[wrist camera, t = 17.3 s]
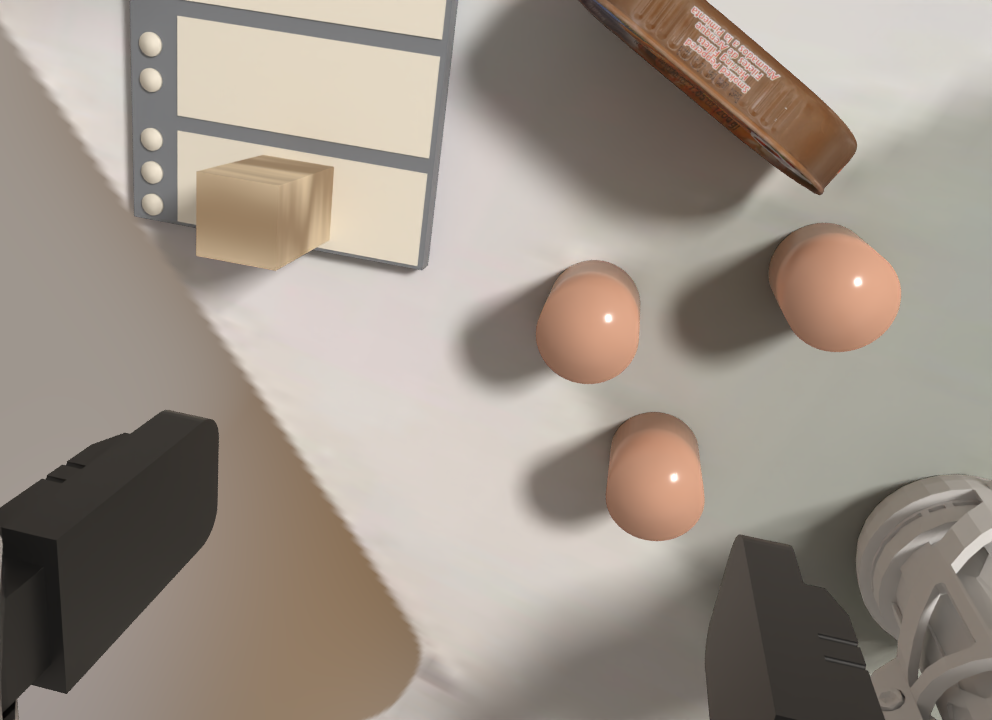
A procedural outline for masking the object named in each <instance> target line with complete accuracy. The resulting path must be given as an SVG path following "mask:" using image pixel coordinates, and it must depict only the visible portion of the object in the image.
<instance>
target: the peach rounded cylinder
mask: <svg viewBox="0 0 992 720" xmlns="http://www.w3.org/2000/svg"><path fill="white" fill-rule="evenodd" d="M768 276H769V283H770V287H771V290H772V292H773V294H774V296H775V298H776V300H777V302H778V304H779V306H780V308H781V310H782V312H783V314H784V316H785V318H786V320H787V322H788V323H789V325H790V327H791V329H792V330H793V331H794V333H795V334H796V335H797V336H798V337H799V338H800V339H801V340H802V341H804V342H805V343H807V344H809V345H810V346H812V347H815V348H817V349H820V350H824V351H830V352H845V351H851V350H855V349H858V348H861V347H864V346H866V345H868V344H870V343H872V342H873V341H875V340H876V339H877V338H879V337H880V336H881V335H882V334H883V333H884V332H885V331H886V330H887V329H888V328H889V327H890V325H891V324H892V322H893V321H894V319H895V317H896V315H897V313H898V310H899V306H900V301H901V288H900V282H899V279H898V276H897V274H896V272H895V270H894V269H893V268H892V266H891V265H890V264H889V263H888V262H887V261H886V260H885V259H884V258H883V257H882V256H881V255H880V254H879V253H877V252H876V251H875V250H874V249H873V248H872V247H870V246H869V245H868V244H867V243H866V242H865V241H863V240H862V239H861V238H860V237H859V236H858V235H857V234H855V233H854V232H853V231H851V230H849V229H848V228H846V227H843V226H841V225H837V224H832V223H816V224H811V225H807V226H804V227H802V228H799V229H798V230H796V231H794V232H792V233H791V234H790V235H788V236H787V237H786V238H785V239H784V240H783V241H782V242H781V243H780V244H779V245H778V247H777V248H776V250H775V252H774V254H773V256H772V258H771V261H770V265H769V273H768Z"/></svg>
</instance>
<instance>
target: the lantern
mask: <svg viewBox="0 0 992 720" xmlns="http://www.w3.org/2000/svg"><path fill="white" fill-rule="evenodd" d="M856 572H857V579H858V584H859V589H860V592H861V596H862V599H863V602H864V604H865V606H866V608H867V609H868V611H869V613H870V615H871V616H872V618H873V619H874V620H875V621H876V622H877V623H878V624H879V625H880V626H881V627H882V629H883V630H885V631H886V632H888V633H889V634H890V635H892V636H893V637H894V638H895V640H897V641H898V647H897V657H896V658H895V659H893V660H891V661H890V662H888V663H887V664H885V665H883V666H882V667H880V668H879V669H877V670H875V671H874V672H873V674H872V675H871V677H870V678H871V681H872V684H873V686H874V689H875V692H876V695H877V698H878V701H879V703H880V706H881V709H882V712H883V715H884V718H885V720H936V719H935V718H934V717H932V716H931V712H932V710H933V707H934V705H935V703H936V706H937V708H938V710H939V713H940V715H941V717H942V719H943V720H992V480H988V479H984V478H980V477H976V476H969V475H958V474H953V475H938V476H933V477H929V478H925V479H920V480H918V481H915V482H913V483H910V484H908V485H905V486H903V487H901V488H900V489H898V490H896V491H895V492H893V493H892V494H890V495H888V496H887V497H886V498H885V499H884V500H883V501H882V502H880V503H879V504H878V505H877V506H876V507H875V508H874V510H873V511H872V512H871V514H870V515H869V516H868V518H867V519H866V521H865V523H864V526H863V528H862V530H861V533H860V535H859V538H858V543H857V553H856ZM918 669H920V671H921V673H922V674H921V676H920V677H919V678H918Z"/></svg>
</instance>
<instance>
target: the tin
mask: <svg viewBox="0 0 992 720" xmlns="http://www.w3.org/2000/svg"><path fill="white" fill-rule="evenodd" d="M579 1H580V3H581V4H582V5H583V6H584V7H585V8H586V9H587V10H588V11H589V12H590V13H591V14H592V15H593V16H594V17H596V18H597V19H598V20H599V21H600V22H601V23H602V24H604V25H605V26H606V27H607V28H608V29H609V30H610V31H612V32H613V33H614V34H615V35H617V36H618V37H619V38H620V39H621V40H622V41H623V42H625V43H626V44H627V45H628V46H629V47H630V48H632V49H633V50H634V51H635V52H636V53H637V54H639V55H640V56H641V57H643V58H644V59H645V60H646V61H647V62H648V63H649V64H651V65H652V66H653V67H654V68H655V69H657V70H658V71H659V72H660V73H661V74H663V75H664V76H665V77H666V78H667V79H669V80H670V81H671V82H672V83H673V84H674V85H676V86H677V87H678V88H679V89H681V90H682V91H683V92H684V93H685V94H686V95H688V96H689V97H690V98H691V99H692V100H694V101H695V102H696V103H697V104H698V105H700V106H701V107H702V108H703V109H704V110H705V111H707V112H708V113H709V114H710V115H711V116H713V117H714V118H715V119H716V120H717V121H718V122H720V123H721V124H722V125H723V126H725V127H726V128H727V129H728V130H729V131H731V132H732V133H733V134H734V135H735V136H737V137H738V138H739V139H740V140H741V141H743V142H744V143H745V144H747V145H748V146H749V147H750V148H752V149H753V150H754V151H756V152H757V153H758V154H759V155H760V156H762V157H763V158H764V159H765V160H767V161H768V162H769V163H771V164H772V165H773V166H775V167H776V168H778V169H779V170H780V171H781V172H783V173H785V174H786V175H787V176H789V177H790V178H792V179H793V180H795V181H796V182H797V183H799V184H801V185H802V186H804V187H806V188H807V189H809V190H810V191H812V192H813V193H815V194H818V195H821V194H823V192H824V188H825V187H826V186H827V185H828V184H829V183H830V182H831V180H832V179H833V178H834V177H835V176H836V175H837V174H838V173H839V172H840V171H841V170H842V168H843V167H844V166H845V165H846V164H847V163H848V162H849V161H850V159H851V158H852V157H853V155H854V154H855V152H856V149H857V142H856V139H855V137H854V135H853V134H852V132H851V131H850V130H849V128H848V127H847V126H846V124H845V123H844V122H843V121H842V120H841V119H840V118H839V117H838V115H837V114H836V113H835V112H834V111H833V110H832V109H831V108H830V107H828V106H827V105H826V104H825V103H824V102H823V101H822V100H821V99H820V98H819V97H818V96H817V95H816V94H815V93H814V92H812V91H811V90H810V89H809V88H808V87H807V86H806V85H805V84H803V83H802V82H801V81H800V80H799V79H798V78H796V77H795V76H794V75H793V74H792V73H791V72H790V71H788V70H787V69H786V68H785V67H784V66H782V65H781V64H780V63H779V62H778V61H777V60H776V59H775V58H773V57H772V56H771V55H770V54H769V53H767V52H766V51H765V50H764V49H763V48H762V47H761V46H759V45H758V44H757V43H756V42H755V41H754V40H752V39H751V38H750V37H749V36H748V35H746V34H745V33H744V32H743V31H742V30H741V29H739V28H738V27H737V26H736V25H735V24H734V23H732V22H731V21H730V20H729V19H728V18H726V17H725V16H724V15H723V14H722V13H720V12H719V11H718V10H717V9H716V8H714V7H713V6H712V5H711V4H709V3H708V2H707V1H706V0H579Z"/></svg>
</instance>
